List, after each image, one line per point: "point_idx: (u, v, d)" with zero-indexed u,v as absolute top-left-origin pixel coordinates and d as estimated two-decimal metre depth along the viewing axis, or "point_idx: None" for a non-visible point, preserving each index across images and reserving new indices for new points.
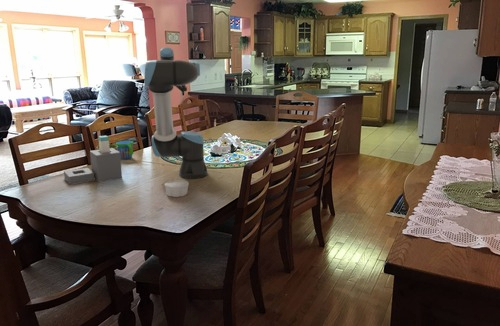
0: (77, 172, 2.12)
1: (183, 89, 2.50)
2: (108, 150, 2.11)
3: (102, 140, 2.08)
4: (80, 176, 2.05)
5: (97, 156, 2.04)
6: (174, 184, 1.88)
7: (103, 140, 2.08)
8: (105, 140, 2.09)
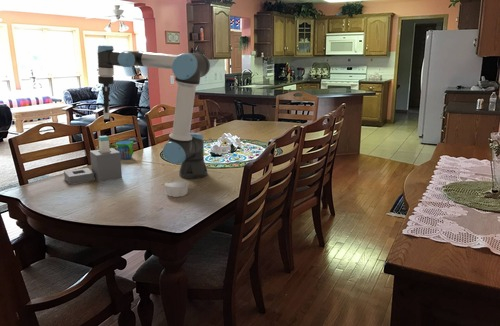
0: (77, 172, 2.12)
1: None
2: (108, 150, 2.11)
3: (102, 140, 2.08)
4: (80, 176, 2.05)
5: (97, 156, 2.04)
6: (174, 184, 1.88)
7: (103, 140, 2.08)
8: (105, 140, 2.09)
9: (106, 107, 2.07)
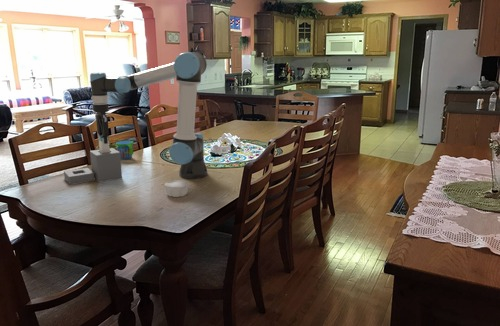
0: (77, 172, 2.12)
1: (101, 132, 2.12)
2: (108, 150, 2.11)
3: None
4: (80, 176, 2.05)
5: (97, 156, 2.04)
6: (174, 184, 1.88)
7: None
8: None
9: (106, 138, 2.06)
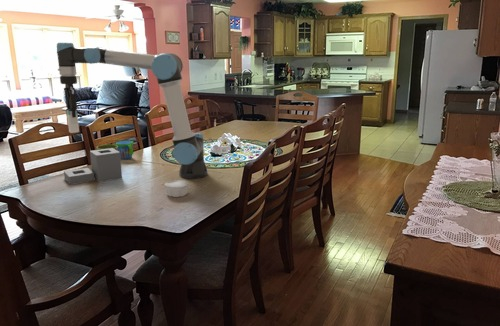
0: (77, 172, 2.12)
1: (70, 106, 2.04)
2: (77, 124, 2.03)
3: None
4: (80, 176, 2.05)
5: (97, 156, 2.04)
6: (174, 184, 1.88)
7: None
8: None
9: (74, 111, 1.99)
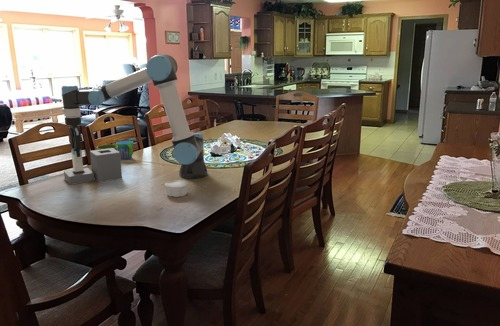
0: (77, 172, 2.12)
1: None
2: (81, 163, 2.08)
3: None
4: (80, 176, 2.05)
5: (97, 156, 2.04)
6: (174, 184, 1.88)
7: None
8: None
9: (78, 151, 2.04)
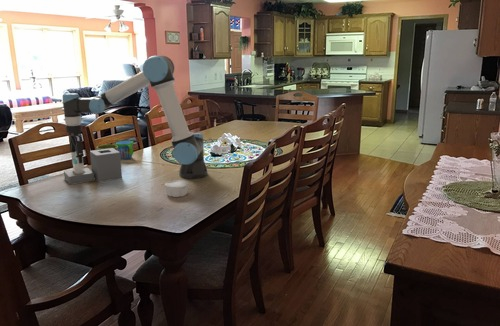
0: None
1: None
2: (82, 172, 2.09)
3: (76, 163, 2.06)
4: (80, 176, 2.05)
5: (97, 156, 2.04)
6: (174, 184, 1.88)
7: None
8: None
9: (80, 157, 2.02)
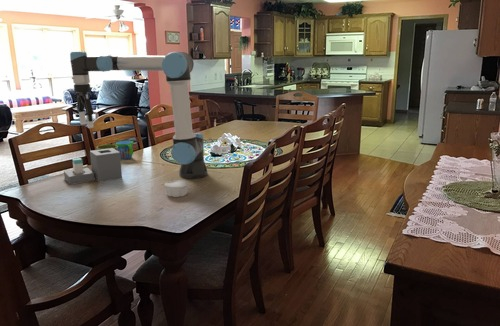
0: None
1: None
2: (82, 172, 2.09)
3: (76, 163, 2.06)
4: (80, 176, 2.05)
5: (97, 156, 2.04)
6: (174, 184, 1.88)
7: (77, 163, 2.07)
8: (78, 163, 2.07)
9: (90, 115, 1.98)
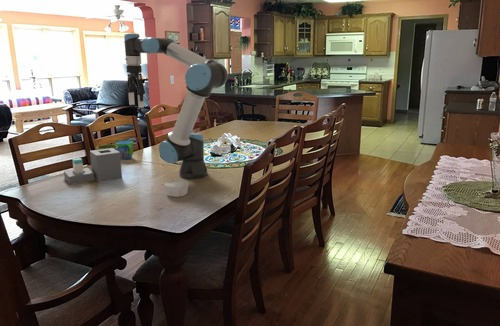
0: None
1: None
2: (82, 172, 2.09)
3: (76, 163, 2.06)
4: (80, 176, 2.05)
5: (97, 156, 2.04)
6: (174, 184, 1.88)
7: (77, 163, 2.07)
8: (78, 163, 2.07)
9: (142, 95, 2.06)
